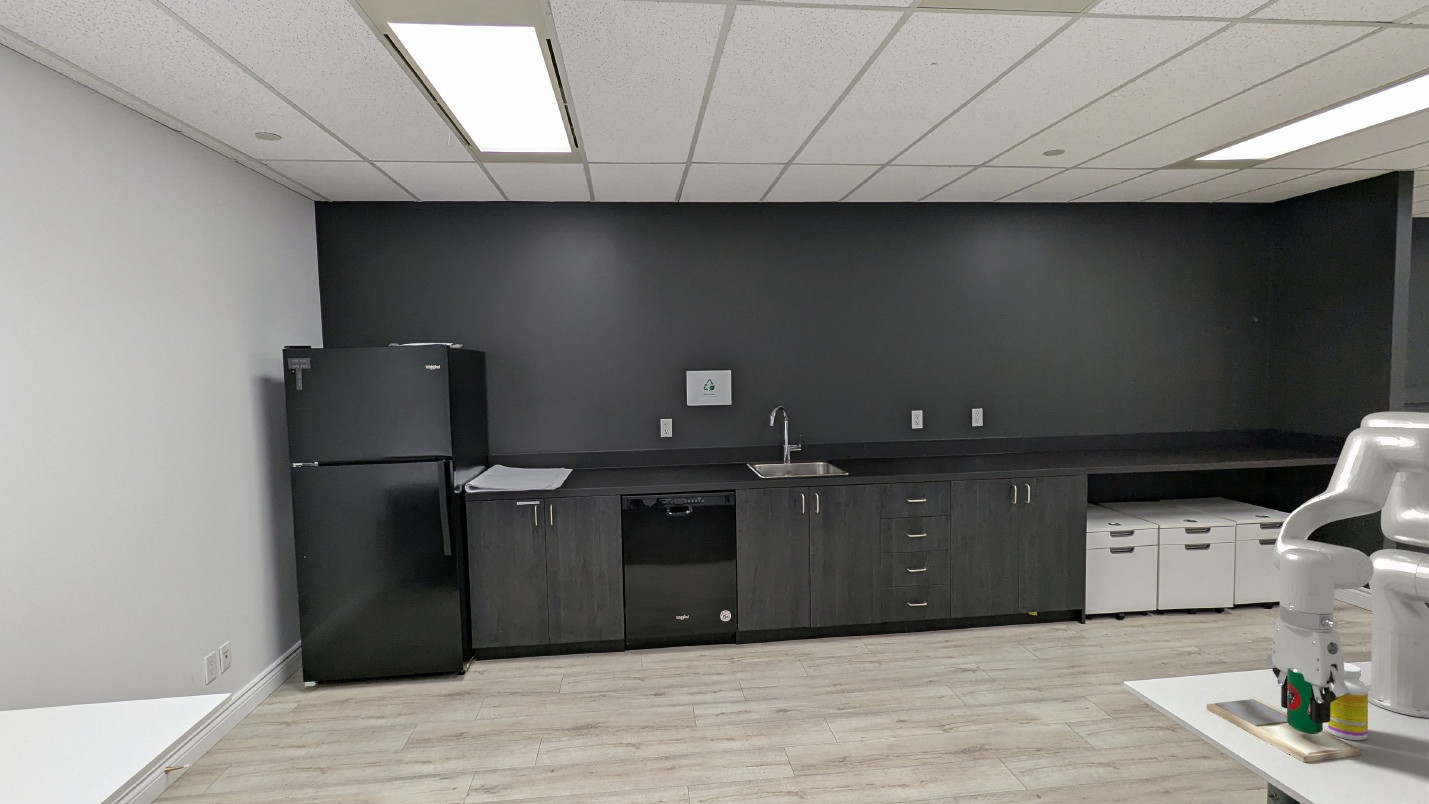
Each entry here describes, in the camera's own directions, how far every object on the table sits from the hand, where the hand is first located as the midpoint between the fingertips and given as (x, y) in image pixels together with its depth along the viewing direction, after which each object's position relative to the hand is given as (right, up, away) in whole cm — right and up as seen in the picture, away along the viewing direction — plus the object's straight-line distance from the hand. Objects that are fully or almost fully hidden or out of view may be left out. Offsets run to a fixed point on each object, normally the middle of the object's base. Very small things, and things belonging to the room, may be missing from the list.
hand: (1305, 713), depth 128 cm
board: (-1, -6, +5) cm, 8 cm away
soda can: (0, -3, 0) cm, 3 cm away
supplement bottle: (+11, -6, +4) cm, 13 cm away
